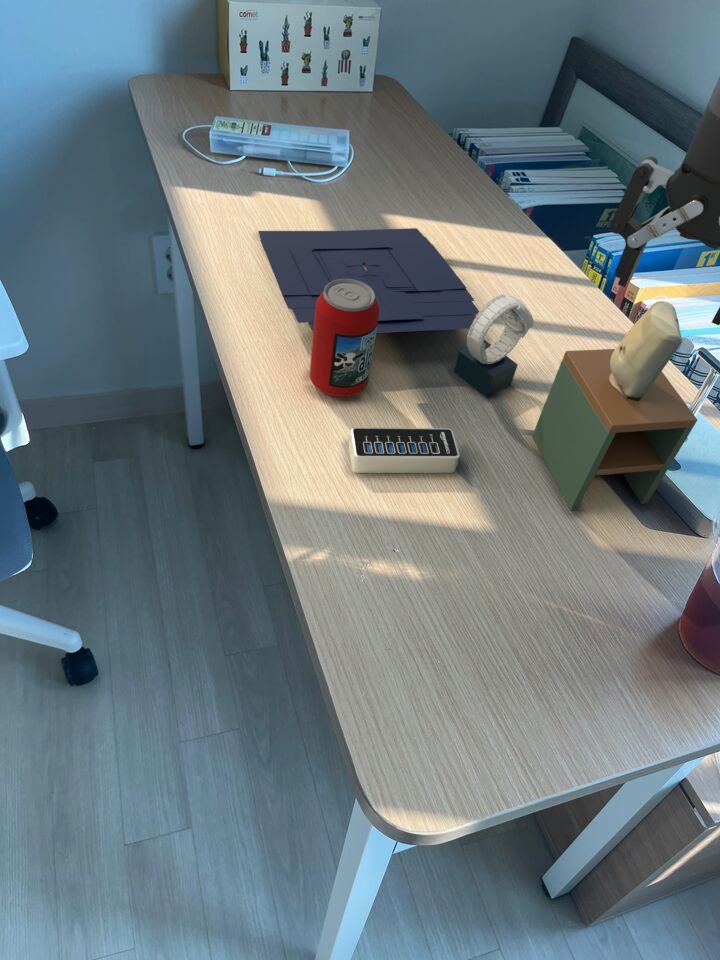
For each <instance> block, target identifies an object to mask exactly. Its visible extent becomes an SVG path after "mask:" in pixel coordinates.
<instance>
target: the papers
mask: <svg viewBox="0 0 720 960" xmlns="http://www.w3.org/2000/svg"><path fill="white" fill-rule="evenodd" d="M257 232H258V235H259V239H260V240H259V241H260V244H261V247H262V248H263V252H264V253H265V255H266V259H267V261H268V263H269V265H270V268H271V271H272V273H273V275H274V278H275V281H276V283H277V286H278V288H279V291H280V293H281V295H282V298H283V300H284V302H285V304H286V307H287V309H288V310H292V312H293V315H294V317H295V320H296V321H297V323H298V324H301V323H308V326H309V328H310V330H311V333H313V330H314V319H315V310H316V302H317V299H318V297H319V296H320V295H321V294H322V292H323V291H324V289H325V287H326V285H327V284H328V283H330V282H332V281H334V280H338V279H353V280H357V281H360V282H363V283H365V284H367V285H368V286H369V287H371V288H372V290H373V291H374V293H375V299H376V301H377V303H378V306H379V317H378V324H377V330H376V334H384V333H385V334H387V333H403V332H424V331H425V332H427V331H447V330H470V327H471V325H472V323H473V321H474V319H475V318H476V317H474V315H477V314H478V313H479V312H480V310H479V309H478V308H477V306H476V304H475V303H474V302H475V301H476V300H475V299H474V298H473V296H472V295H471V294H470V292H469V291H468V288H467V286H466V285H465V284H464V282H463V281H462V280H461V279H460V277H459V276H458V275H457V273H456V272H455V271H454V270H453V268H452V267H451V266H450V265H449V263H448V262H447V261H446V260H445V258H444V256H442V254H441V253H440V252H439V251H438V249H437V247H435V245H434V244H433V243H431V241H430V240H429V239H428V238H427V237H426V236H424V235H423V233H422V232H421V231H420V230H419V229H418V228H417V227H415V228H414V227H412V228H411V227H410V228H387V229H385V228H384V229H383V228H381V229H356V230H355V229H354V230H353V229H352V230H258V231H257Z"/></svg>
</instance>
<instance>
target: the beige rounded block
mask: <svg viewBox="0 0 720 960" xmlns="http://www.w3.org/2000/svg"><path fill="white" fill-rule="evenodd" d="M682 342H683V337H682V333H681V329H680V323H679V318H678V315H677V311H676V307H674V305H673V304H672V303H670V302H668V301H664V300H663V301H661V300H659V301H656V302H654V303H653V304H652V305H650V307H649V308H648V309H647V310H646V311H645V313H643V314H642V316H640V317H639V318H638V319H637V321H635V323H634V324H633V325H632V326H631V327H630V328H629V330H628V331H627V332H626V333H625V335H624V337H623V338H622V340H621V341H620V342H619V344H618V345H617V346H616V347H615V348H614V349H615V350H614V351H613V353H612V356H611V360H610V368H611V371H612V373H611V374H610V376H609V381H610V382H611V384H612V386H614V387H615V388H616V389H618V390H619V391H620V393H621V394H622V395H623V396H624V397H625V398H627V399H631V400H635V401H639V400H641V398H642V397H643V396H644V395H645V394H646V392H647V391H648V390H649V389H650V387H651V386H652V385H653V383H654V382H655V380H656V379H657V377H658V376H659V374H660V373H661V371H662V372H663V370H664V369H665V367H666V366H667V364H668V363H669V362H670V360H671V358H672V357H673V356H674V354H676V352H677V350H678V349H679V347H680V346H681V345H682Z"/></svg>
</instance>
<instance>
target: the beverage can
mask: <svg viewBox="0 0 720 960" xmlns="http://www.w3.org/2000/svg"><path fill="white" fill-rule="evenodd" d="M378 317H379V306H378V303H377V301H376V299H375V293H374V291H373V290H372V288H371V287H369V286H368V285H367V284H365V283H363V282H360V281H357V280H353V279H338V280H334V281H332V282H330V283H328V284H327V285H326V287H325V289H324V291H323V292H322V294H321V295H320V296H319V297H318V299H317V302H316V310H315V319H314V330H313V332H312V341H311V353H310V354H311V355H310V367H309V378H310V382H311V383H312V384H313V386H314V387H315V388H317V389H318V390H319V391H321V392H322V393H324V394H326V395H330V396H334V397H350V396H354V395H357V394H358V393H361V392H362V391H364V390H365V388H366V387H367V385H368V381H369V376H370V372H371V371H370V370H371V365H372V359H373V355H374V348H375V343H376V336H377V333H376V330H377V324H378Z"/></svg>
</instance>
